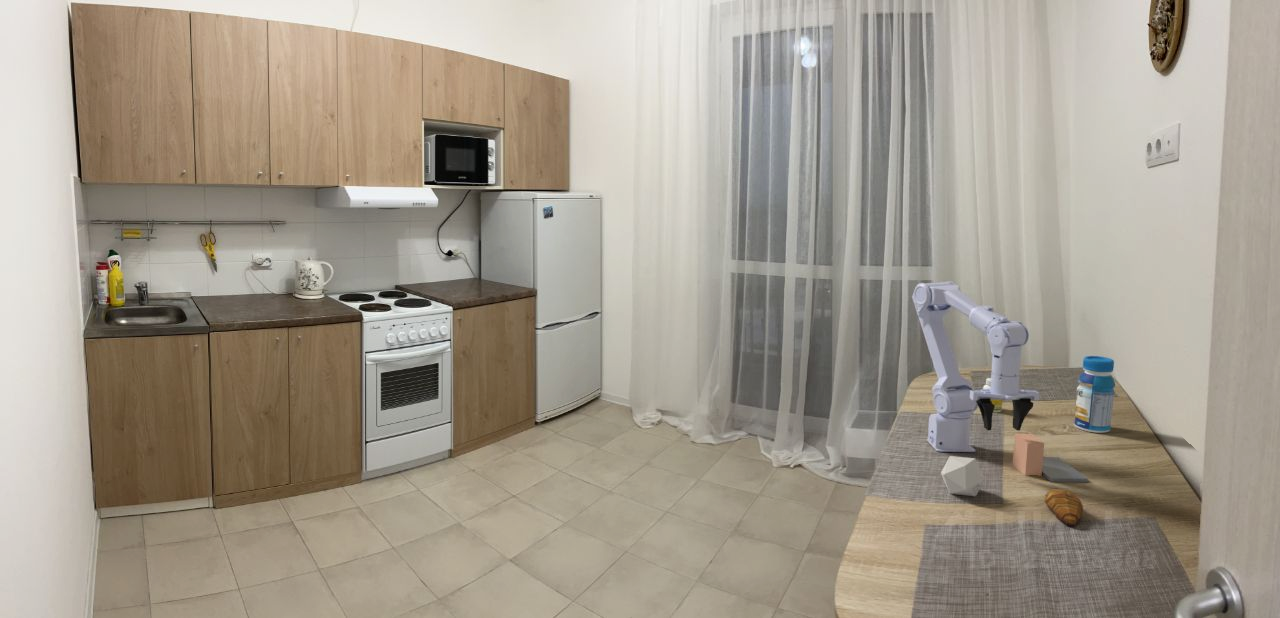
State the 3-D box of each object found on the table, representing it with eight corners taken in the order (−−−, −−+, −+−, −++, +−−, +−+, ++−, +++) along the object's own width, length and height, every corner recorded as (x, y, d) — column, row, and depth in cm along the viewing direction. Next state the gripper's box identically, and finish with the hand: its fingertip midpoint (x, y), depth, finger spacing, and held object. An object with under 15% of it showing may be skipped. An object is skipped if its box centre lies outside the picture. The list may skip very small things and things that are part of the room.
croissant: (1092, 531, 120) (1094, 508, 119) (1051, 526, 123) (1053, 503, 122) (1072, 500, 133) (1074, 478, 132) (1036, 495, 135) (1037, 474, 134)
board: (1050, 481, 141) (1050, 478, 141) (1023, 459, 153) (1024, 456, 152) (1087, 482, 140) (1088, 478, 140) (1058, 460, 152) (1058, 457, 151)
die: (971, 508, 131) (998, 471, 131) (934, 482, 135) (959, 446, 134) (965, 504, 139) (990, 469, 139) (929, 479, 142) (954, 446, 142)
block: (1025, 475, 144) (1027, 443, 143) (1012, 464, 150) (1015, 433, 149) (1041, 475, 144) (1044, 443, 142) (1028, 464, 150) (1030, 433, 148)
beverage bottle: (1106, 436, 165) (1114, 364, 162) (1069, 428, 171) (1075, 359, 168) (1114, 428, 170) (1121, 358, 167) (1078, 420, 177) (1084, 353, 173)
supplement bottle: (977, 408, 190) (979, 378, 188) (992, 406, 191) (994, 376, 189) (990, 413, 185) (992, 382, 183) (1005, 411, 186) (1008, 381, 184)
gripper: (980, 378, 140) (976, 434, 142) (1047, 377, 139) (1043, 435, 141) (967, 370, 147) (964, 424, 149) (1031, 369, 146) (1027, 424, 148)
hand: (1001, 428), depth 146 cm, fingers open, 6 cm apart
